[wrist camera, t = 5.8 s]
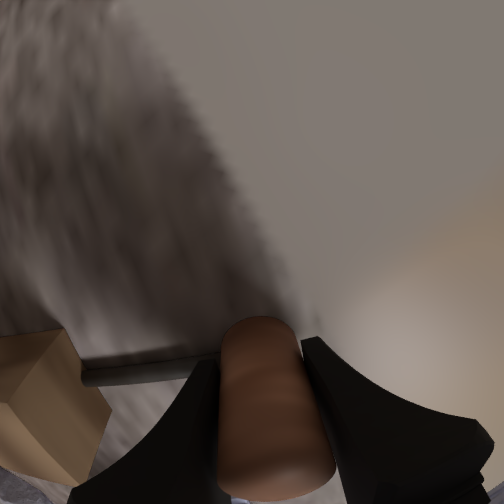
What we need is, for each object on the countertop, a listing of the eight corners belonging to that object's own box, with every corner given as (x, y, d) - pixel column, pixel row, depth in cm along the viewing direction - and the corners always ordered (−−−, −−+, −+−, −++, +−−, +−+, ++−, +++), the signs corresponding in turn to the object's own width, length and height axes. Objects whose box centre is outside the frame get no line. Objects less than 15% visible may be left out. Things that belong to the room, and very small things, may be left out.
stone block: (52, 479, 19) (-27, 447, 15) (48, 516, 14) (-36, 481, 11) (64, 508, 22) (-1, 485, 19) (63, 536, 18) (-5, 512, 15)
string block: (286, 284, 11) (332, 407, 5) (304, 383, 12) (337, 499, 7) (-10, 338, 11) (-70, 404, 5) (34, 408, 13) (-5, 479, 7)
